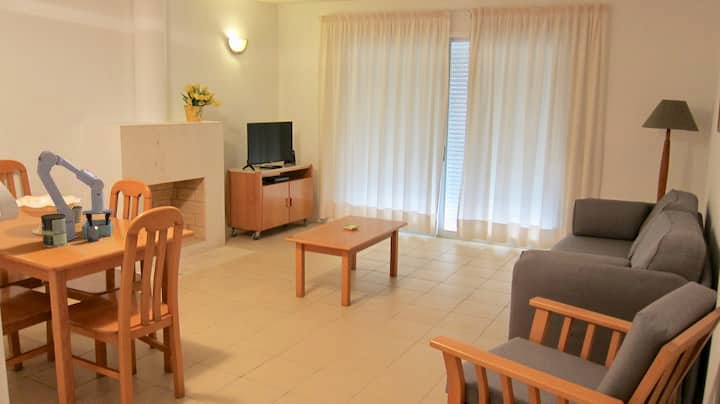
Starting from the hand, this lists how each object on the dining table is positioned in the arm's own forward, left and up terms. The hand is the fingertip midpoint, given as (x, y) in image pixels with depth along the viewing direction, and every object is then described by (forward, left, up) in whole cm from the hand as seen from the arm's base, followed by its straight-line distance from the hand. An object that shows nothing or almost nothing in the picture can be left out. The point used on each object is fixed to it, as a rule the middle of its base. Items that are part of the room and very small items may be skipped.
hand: (99, 228), depth 297 cm
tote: (+3, +3, -3) cm, 5 cm away
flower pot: (+24, +30, -4) cm, 39 cm away
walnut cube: (0, 0, -3) cm, 3 cm away
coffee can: (-23, +8, -4) cm, 25 cm away
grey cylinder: (-12, -4, -3) cm, 14 cm away
